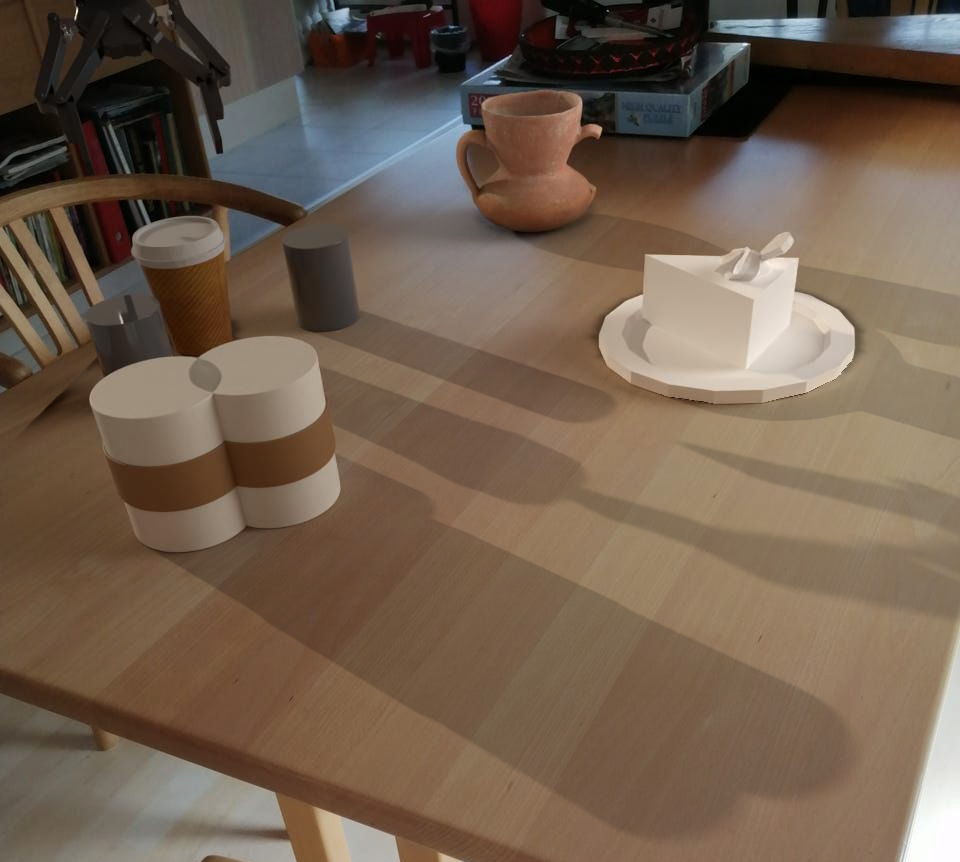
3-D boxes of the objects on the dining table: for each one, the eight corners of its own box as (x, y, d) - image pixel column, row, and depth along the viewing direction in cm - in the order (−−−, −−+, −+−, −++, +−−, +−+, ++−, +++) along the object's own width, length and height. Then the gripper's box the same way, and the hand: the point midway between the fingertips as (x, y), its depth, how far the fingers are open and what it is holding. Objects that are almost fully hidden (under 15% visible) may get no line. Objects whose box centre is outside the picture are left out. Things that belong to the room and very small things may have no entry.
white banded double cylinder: (109, 549, 84) (61, 417, 76) (181, 456, 94) (145, 331, 86) (306, 563, 80) (276, 426, 73) (357, 465, 91) (336, 336, 83)
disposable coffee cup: (143, 345, 113) (110, 233, 105) (219, 316, 117) (193, 207, 109) (187, 371, 107) (155, 256, 99) (264, 340, 112) (240, 228, 104)
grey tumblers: (99, 398, 104) (70, 312, 98) (333, 299, 119) (321, 219, 113) (135, 420, 100) (107, 332, 94) (373, 315, 115) (361, 233, 109)
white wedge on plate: (887, 319, 106) (910, 205, 99) (794, 428, 91) (814, 304, 84) (668, 277, 117) (675, 173, 110) (554, 369, 102) (552, 255, 95)
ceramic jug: (602, 200, 138) (603, 82, 129) (599, 240, 127) (600, 115, 118) (468, 204, 140) (460, 88, 131) (454, 244, 129) (444, 121, 120)
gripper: (221, -20, 116) (272, 157, 115) (-10, 11, 111) (41, 196, 110) (217, -72, 109) (271, 117, 108) (-31, -41, 104) (23, 157, 103)
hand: (155, 157), depth 109 cm, fingers open, 13 cm apart
